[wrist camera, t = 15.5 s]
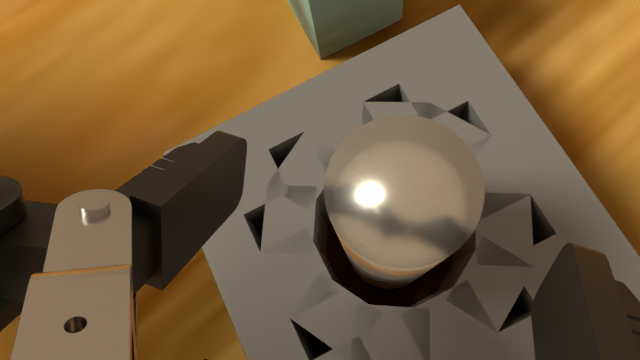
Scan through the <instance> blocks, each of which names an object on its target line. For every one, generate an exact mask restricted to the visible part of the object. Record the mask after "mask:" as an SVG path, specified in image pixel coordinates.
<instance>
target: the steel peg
mask: <svg viewBox="0 0 640 360" xmlns="http://www.w3.org/2000/svg"><path fill="white" fill-rule="evenodd" d="M484 195H485V189H484V180H483V176H482V172H481V169H480V166H479V164H478V161H477V159H476V157H475V156H474V154H473V152H472V151H471V149H470V148H469V147H468V145H467V144H466V143H465V142H464V141H463V140H462V139H461V138H460V137H459V136H458V135H457V134H456V133H454V132H453V131H452V130H450V129H449V128H447V127H446V126H444V125H442V124H440V123H438V122H436V121H434V120H431V119H428V118H425V117H420V116H415V115H391V116H385V117H381V118H378V119H374V120H372V121H370V122H367V123H365V124H364V125H362V126H360V127H358V128H357V129H355V130H354V131H353V132H352V133H350V134H349V135H348V136H347V137H346V138H345V139H344V140H343V141H342V142H341V144H340V145H339V146H338V147H337V149H336V150H335V152H334V154H333V155H332V157H331V160H330V162H329V164H328V167H327V171H326V174H325V181H324V199H325V206H326V209H327V213H328V216H329V218H330V220H331V223H332V225H333V227H334V229H335V231H336V234H337V236H338V238H339V240H340V242H341V244H342V246H343V248H344V250H345V253H346V255H347V257H348V259H349V261H350V263H351V265H352V267H353V269H354V270H355V271H356V273H357V274H358V275H359V276H360V277H361V278H362V279H364V280H365V281H366V282H368V283H370V284H372V285H374V286H377V287H380V288H387V289H393V288H400V287H403V286H406V285H408V284H410V283H412V282H413V281H415V280H416V279H418V278H419V277H420V276H422V275H423V274H425V273H426V272H428V271H429V270H430V269H432V268H433V267H435V266H436V265H437V264H439V263H440V262H442V261H443V260H445V259H446V258H447V257H449V256H450V255H452V254H453V253H454V252H455V251H457V250H458V249H459V248H460V247H461V246H462V245H463V244H464V243H465V242H466V241H467V240H468V239H469V237H470V236H471V235H472V233H473V232H474V230H475V228H476V226H477V224H478V222H479V220H480V217H481V214H482V211H483V205H484Z"/></svg>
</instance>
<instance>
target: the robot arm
mask: <svg viewBox="0 0 640 360" xmlns="http://www.w3.org/2000/svg"><path fill="white" fill-rule="evenodd" d="M246 156H247V141H246V139H244V138H241V137H238V136H235V135H232V134H229V133H225V132H222V131H216V132H214V133H213V134H211V135H210V136H209V137H207V138H206V139H205V140H203V141H202V142H201V143H196V142H193V143H190V144H186V145H183V146H180V147H177V148H175V149H173V150H172V151H171V152H169V153H168V154H166V155H165V156H163V158H162V159H159V160H158V161H156V162H155V163H153V164H152V167H150V166H149V167H148V168H146V169H145V170H143V171H142V172H141V173H139V174H138V175H136V176H135V177H133V178H132V179H131V180H129V181H128V182H126V183H125V184H123V185H122V186H121V187H119V188H118V189H116V190H115V191H113V190H107V189H92V190H85V191H81V192H78V193H75V194H72V195H70V196H68V197H67V198H65V199H64V200H62V201H61V202H60V203H59V204H50V203H41V202H33V201H24V197H23V193H22V188H21V185H20V184H19V183H18V182H17V181H16V180H14V179H12V178H9V177H6V176H0V332H1V331H2V330H3V329H4V328H5V327H6V326H7V325H8V324H9V323H11V322H12V321H13V320H14V319H15V318H16V317H17V316H18V315H19V314H21V317H20V322H19V326H18V330H17V334H16V339H15V343H14V347H13V351H12V355H11V360H138V337H137V291H138V290H139V289H140V288H141V287H142V286H143V285H144V284H148V285H150V286H153V287H155V288H158V289H160V290H163V289H164V288H165V287H166V286H167V285H168V284H169V283H170V281H171V280H172V279H173V278H174V277H175V276H176V275H177V274H178V273H179V271H180V270H181V269H182V268H183V267H184V266H185V265H186V264H187V263H188V262H189V260H190V259H191V258H192V257H193V256H194V255H195V254H196V253H197V252H198V251H199V249H200V248H201V247H202V246H203V245H204V244H205V243H206V242H207V241H208V240H209V238H210V237H211V236H212V235H213V234H214V233H215V232H216V231H217V230H218V229H219V227H220V226H221V225H222V224H223V223H224V222H225V221H226V220H227V219H228V218H229V216H230V215H231V214H232V213H233V212H234V211H235V209H236V208H237V206H238V204H239V202H240V200H241V197H242V193H243V187H244V176H245V166H246ZM531 320H532V331H533V341H534V352H535V360H640V302H639V300H638V299H637V298H636V297H635V296H634V294H633V293H632V292H631V291H630V290H629V288H628V287H627V286H626V285H625V284H624V283H623V282H620V281H617V280H615V279H614V276H613V273H612V270H611V268H610V265H609V262H608V259H607V256H606V255H605V254H604V253H601V252H598V251H595V250H592V249H589V248H586V247H582V246H579V245H576V244H573V243H567V244H565V245H564V246H563V248H562V249H561V251H560V252H559V254H558V256H557V258H556V259H555V261H554V263H553V264H552V266H551V268H550V270H549V271H548V273H547V275H546V276H545V278H544V280H543V282H542V283H541V285H540V287H539V289H538V290H537V292H536V295H535V297H534V301H533V304H532V310H531ZM205 360H207V359H205Z"/></svg>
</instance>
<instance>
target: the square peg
mask: <svg viewBox="0 0 640 360" xmlns="http://www.w3.org/2000/svg"><path fill="white" fill-rule="evenodd" d="M287 1H288V3H289V5H290V7H291V8H292V10H293V12H294V14H295V15H296V17H297V19H298V21H299V22H300V24H301V26H302V28H303V29H304V31H305V33H306V35H307V36H308V38H309V40H310V42H311V44H312V45H313V47H314V49H315V51H316V52H317V54H318V56H319V58H320V59H321V60H322V59H324V58H326V57H328V56H330V55H332V54H334V53H336V52H338V51H340V50H342V49H344V48H346V47H348V46H350V45H352V44H354V43H356V42H358V41H360V40H362V39H364V38H366V37H368V36H370V35H372V34H374V33H376V32H378V31H380V30H382V29H384V28H386V27H388V26H390V25H392V24H394V23H396V22H398V21H400V20H402V11H403V1H404V0H287Z"/></svg>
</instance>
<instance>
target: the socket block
mask: <svg viewBox="0 0 640 360" xmlns="http://www.w3.org/2000/svg"><path fill="white" fill-rule="evenodd" d="M391 115H415V116H420V117H425V118H428V119H431V120H434V121H436V122H438V123H440V124H442V125H444V126H446V127H447V128H449V129H450V130H452V131H453V132H454V133H456V134H457V135H458V136H459V137H460V138H461V139H462V140H463V141H464V142H465V143H466V144H467V145H468V147H469V148H470V149H471V151H472V152H473V154H474V156H475V157H476V159H477V161H478V164H479V166H480V169H481V172H482V176H483V180H484V189H485V195H484V205H483V211H482V214H481V217H480V220H479V222H478V224H477V226H476V228H475V230H474V232H473V233H472V235H471V236H470V237H469V239H468V240H467V241H466V242H465V243H464V244H463V245H462V246H461V247H460V248H459V249H458V250H457V251H455V252H454V253H453V264H452V266H451V268H450V269H449V271H448V273H447V274H446V276H445V278H444V279H443V281H442V283H441V284H440V286H439V288H438V290H437V291H436V292H435V293H434V294H432V295H430V296H428V297H426V298H424V299H422V300H420V301H418V302H416V303H414V304H412V305H410V306H408V307H398V306H383V305H369V304H367V303H366V302H364V301H363V300H361V299H360V298H358V297H357V296H355V295H354V294H352V293H351V292H350V291H348V290H347V289H345V288H344V287H342V286H341V285H340V283H339V281H338V279H337V277H336V275H335V273H334V271H333V269H332V267H331V265H330V263H329V261H328V259H327V257H326V247H327V230H328V222H329V221H330V218H329V216H328V213H327V209H326V206H325V199H324V181H325V174H326V171H327V167H328V164H329V162H330V160H331V157H332V155H333V154H334V152H335V150H336V149H337V147H338V146H339V145H340V144H341V142H342V141H343V140H344V139H345V138H346V137H347V136H348V135H349V134H350V133H352V132H353V131H354V130H355V129H357V128H358V127H360V126H362V125H364V124H365V123H367V122H370V121H372V120H374V119H378V118H381V117H385V116H391ZM216 131H222V132H225V133H229V134H232V135H235V136H238V137H241V138H244V139H246V141H247V156H246V166H245V176H244V187H243V193H242V197H241V200H240V202H239V204H238V206H237V208H236V209H235V211H234V212H233V213H232V214H231V215H230V216H229V218H228V219H227V220H226V221H225V222H224V223H223V224H222V225H221V226H220V227H219V229H218V230H217V231H216V232H215V233H214V234H213V235H212V236H211V237H210V238H209V240H208V241H207V242H206V243H205V244H204V245H203V246H202V250H203V252H204V254H205V257H206V259H207V262H208V264H209V267H210V269H211V272H212V274H213V276H214V279H215V281H216V284H217V286H218V289H219V291H220V294H221V296H222V298H223V301H224V303H225V306H226V308H227V311H228V313H229V316H230V318H231V320H232V323H233V325H234V328H235V330H236V333H237V335H238V338H239V340H240V342H241V345H242V347H243V350H244V352H245V355H246V357H247V360H535V352H534V341H533V331H532V320H531V310H532V304H533V301H534V297H535V295H536V292H537V290H538V289H539V287H540V285H541V283H542V282H543V280H544V278H545V276H546V275H547V273H548V271H549V270H550V268H551V266H552V264H553V263H554V261H555V259H556V258H557V256H558V254H559V252H560V251H561V249H562V248H563V246H564V245H565V244H567V243H573V244H576V245H579V246H582V247H586V248H589V249H592V250H595V251H598V252H601V253H604V254H605V255H606V256H607V259H608V262H609V265H610V268H611V270H612V273H613V276H614V279H615V280H617V281H620V282H623V283H624V284H625V285H626V286H627V287H628V288H629V290H630V291H631V292H632V293H633V294H634V296H635V297H636V298H637V299H638V300H639V302H640V257H639V255H638V254H637V252H636V251H635V250H634V248H633V247H632V245H631V244H630V243H629V241H628V240H627V238H626V237H625V236H624V234H623V233H622V231H621V230H620V229H619V227H618V226H617V224H616V223H615V222H614V220H613V219H612V217H611V216H610V215H609V213H608V212H607V210H606V209H605V208H604V206H603V205H602V203H601V202H600V201H599V199H598V198H597V196H596V195H595V194H594V192H593V191H592V189H591V188H590V187H589V185H588V184H587V182H586V181H585V180H584V178H583V177H582V175H581V174H580V173H579V171H578V170H577V168H576V167H575V165H574V164H573V163H572V161H571V160H570V158H569V157H568V156H567V154H566V153H565V151H564V150H563V149H562V147H561V146H560V144H559V143H558V142H557V140H556V139H555V137H554V136H553V135H552V133H551V132H550V130H549V129H548V128H547V126H546V125H545V123H544V122H543V121H542V119H541V118H540V116H539V115H538V114H537V112H536V111H535V109H534V108H533V107H532V105H531V104H530V102H529V101H528V100H527V98H526V97H525V95H524V94H523V93H522V91H521V90H520V88H519V87H518V86H517V84H516V83H515V81H514V80H513V79H512V77H511V76H510V74H509V73H508V72H507V70H506V69H505V67H504V66H503V65H502V63H501V62H500V60H499V59H498V58H497V56H496V55H495V53H494V52H493V50H492V49H491V48H490V46H489V45H488V43H487V42H486V41H485V39H484V38H483V36H482V35H481V34H480V32H479V31H478V29H477V28H476V27H475V25H474V24H473V22H472V21H471V20H470V18H469V17H468V15H467V14H466V13H465V11H464V10H463V8H462V7H461V6H460V4H459V5H457V6H455V7H453V8H451V9H449V10H447V11H445V12H443V13H441V14H439V15H437V16H435V17H433V18H431V19H429V20H427V21H425V22H423V23H421V24H419V25H417V26H415V27H413V28H411V29H409V30H407V31H405V32H403V33H401V34H399V35H397V36H395V37H393V38H391V39H389V40H387V41H385V42H383V43H381V44H379V45H377V46H375V47H373V48H371V49H369V50H367V51H365V52H363V53H361V54H359V55H357V56H355V57H353V58H351V59H349V60H347V61H345V62H343V63H341V64H339V65H337V66H335V67H333V68H331V69H329V70H327V71H325V72H323V73H321V74H319V75H317V76H315V77H313V78H311V79H309V80H307V81H305V82H303V83H301V84H299V85H297V86H295V87H293V88H291V89H289V90H287V91H285V92H283V93H281V94H279V95H277V96H275V97H273V98H271V99H269V100H267V101H265V102H263V103H261V104H259V105H257V106H255V107H253V108H251V109H250V110H248V111H246V112H244V113H242V114H240V115H238V116H236V117H234V118H232V119H230V120H228V121H226V122H224V123H222V124H220V125H218V126H216V127H214V128H212V129H210V130H208V131H206V132H204V133H202V134H200V135H198V136H196V137H194V138H192V139H190V140H188V141H186V142H184V143H182V144H180V145H178V146H176V147H174V148H172V149H170V150H168V151H166V152H164V153H163V154H164V156H165V155H166V154H168V153H169V152H171V151H172V150H173V149H175V148H177V147H180V146H183V145H186V144H190V143H193V142H196V143H201V142H202V141H203V140H205V139H206V138H207V137H209V136H210V135H211V134H213V133H214V132H216ZM319 339H320V340H321V341H323V342H324V343H325V344H327V345H328V346H329V348H327V349H325V350H323V347H322V345H321V343H320V341H319Z"/></svg>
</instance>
